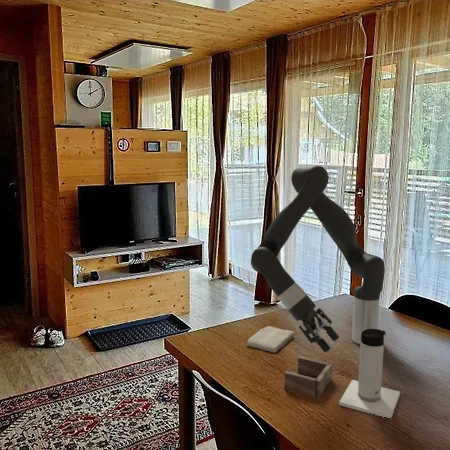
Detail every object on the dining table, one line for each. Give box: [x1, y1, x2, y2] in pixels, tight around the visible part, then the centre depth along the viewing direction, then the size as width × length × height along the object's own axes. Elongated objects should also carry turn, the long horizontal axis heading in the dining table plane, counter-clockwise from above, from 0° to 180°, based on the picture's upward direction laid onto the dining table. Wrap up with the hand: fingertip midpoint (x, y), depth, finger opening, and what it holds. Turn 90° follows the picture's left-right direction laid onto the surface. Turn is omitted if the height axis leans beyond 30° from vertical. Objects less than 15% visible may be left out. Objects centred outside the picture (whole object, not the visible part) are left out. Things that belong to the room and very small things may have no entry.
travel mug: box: [358, 328, 387, 402], centre depth 129 cm, size 6×7×20 cm
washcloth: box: [246, 325, 295, 354], centre depth 171 cm, size 12×18×3 cm, turn 149°
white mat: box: [338, 379, 401, 419], centre depth 131 cm, size 14×14×1 cm
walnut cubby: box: [283, 355, 333, 398], centre depth 140 cm, size 12×11×5 cm
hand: (332, 344), depth 134 cm, fingers open, 8 cm apart
